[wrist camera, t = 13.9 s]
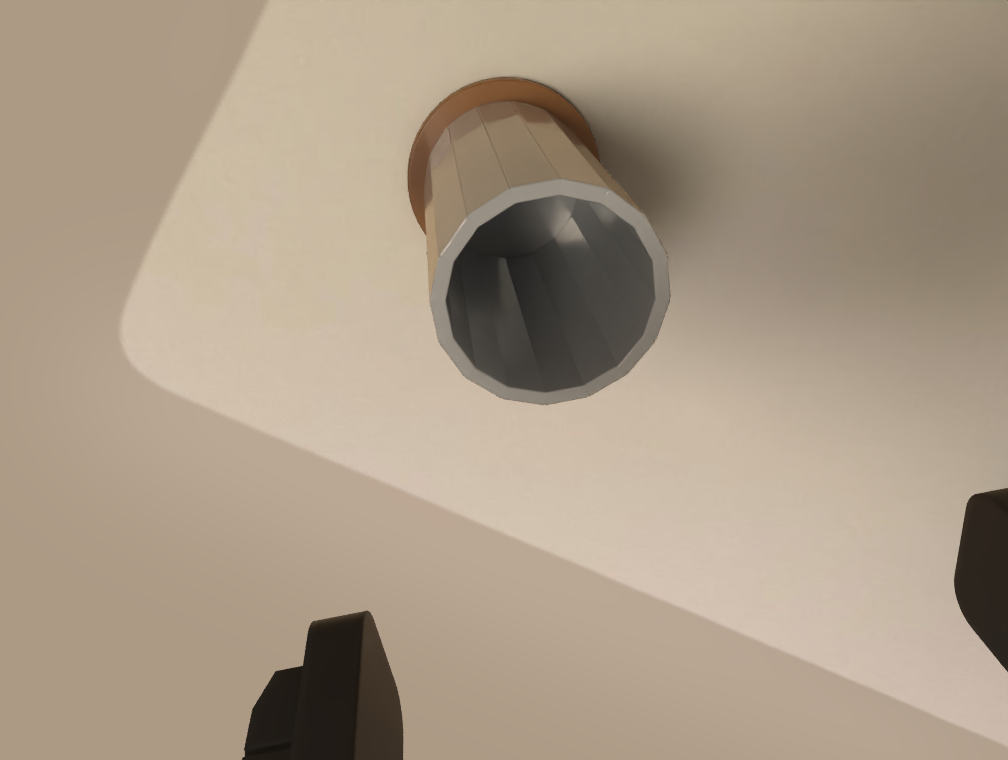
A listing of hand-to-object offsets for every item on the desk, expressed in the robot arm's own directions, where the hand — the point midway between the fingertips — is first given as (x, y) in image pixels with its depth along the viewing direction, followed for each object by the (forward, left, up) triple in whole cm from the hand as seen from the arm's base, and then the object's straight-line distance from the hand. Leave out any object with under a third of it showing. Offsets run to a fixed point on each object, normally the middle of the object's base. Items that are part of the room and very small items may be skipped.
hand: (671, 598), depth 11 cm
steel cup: (0, 0, -21) cm, 21 cm away
